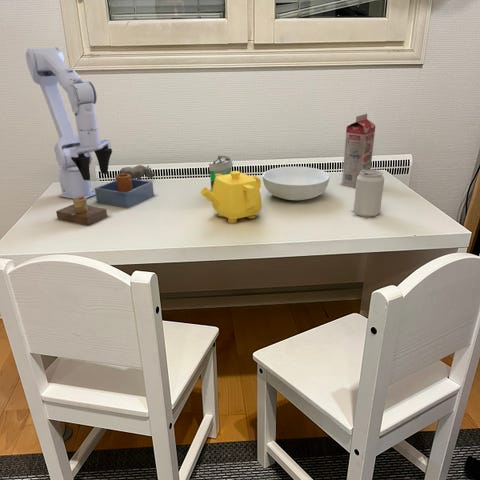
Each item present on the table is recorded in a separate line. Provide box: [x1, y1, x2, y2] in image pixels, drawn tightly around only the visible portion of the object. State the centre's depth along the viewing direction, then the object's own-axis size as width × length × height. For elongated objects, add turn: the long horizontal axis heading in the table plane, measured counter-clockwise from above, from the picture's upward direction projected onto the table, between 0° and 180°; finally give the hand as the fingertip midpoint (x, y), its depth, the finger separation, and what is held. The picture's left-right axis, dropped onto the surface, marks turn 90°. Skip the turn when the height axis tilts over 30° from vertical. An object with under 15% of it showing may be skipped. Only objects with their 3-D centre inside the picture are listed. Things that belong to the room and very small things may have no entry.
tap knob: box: [72, 196, 88, 213], centre depth 145 cm, size 4×4×4 cm
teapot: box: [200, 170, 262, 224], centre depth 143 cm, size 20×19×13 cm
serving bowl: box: [262, 166, 331, 202], centre depth 159 cm, size 21×21×7 cm
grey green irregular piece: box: [208, 154, 234, 192], centre depth 166 cm, size 12×6×10 cm, turn 168°
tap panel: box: [55, 203, 108, 226], centre depth 147 cm, size 12×9×3 cm
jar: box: [114, 173, 132, 192], centre depth 160 cm, size 5×5×7 cm
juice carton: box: [341, 113, 376, 188], centre depth 166 cm, size 7×7×22 cm
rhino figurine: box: [118, 164, 157, 180], centre depth 177 cm, size 4×14×6 cm, turn 119°
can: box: [353, 169, 385, 218], centre depth 143 cm, size 8×8×12 cm
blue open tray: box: [94, 178, 155, 209], centre depth 161 cm, size 12×13×5 cm
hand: (95, 176), depth 151 cm, fingers open, 7 cm apart
